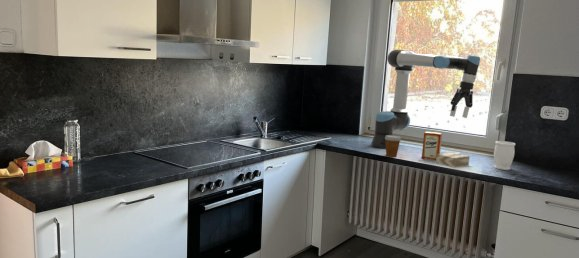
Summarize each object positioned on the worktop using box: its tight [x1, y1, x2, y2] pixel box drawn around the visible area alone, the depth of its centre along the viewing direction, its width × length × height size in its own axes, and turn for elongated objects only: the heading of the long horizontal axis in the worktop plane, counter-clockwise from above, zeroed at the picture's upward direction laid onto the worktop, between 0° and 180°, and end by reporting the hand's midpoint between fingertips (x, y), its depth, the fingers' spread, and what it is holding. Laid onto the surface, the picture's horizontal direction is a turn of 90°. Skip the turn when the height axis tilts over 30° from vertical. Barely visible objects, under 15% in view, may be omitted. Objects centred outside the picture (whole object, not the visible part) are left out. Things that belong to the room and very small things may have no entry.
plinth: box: [435, 151, 471, 168], centre depth 260 cm, size 12×14×5 cm
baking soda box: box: [421, 131, 443, 161], centre depth 271 cm, size 10×6×16 cm
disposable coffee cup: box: [385, 134, 401, 158], centre depth 273 cm, size 10×10×12 cm
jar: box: [493, 140, 516, 171], centre depth 253 cm, size 11×10×15 cm
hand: (458, 116), depth 269 cm, fingers open, 13 cm apart
